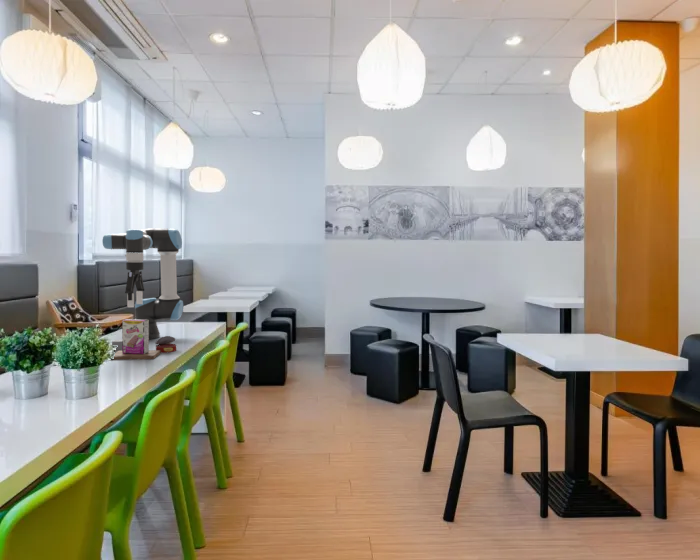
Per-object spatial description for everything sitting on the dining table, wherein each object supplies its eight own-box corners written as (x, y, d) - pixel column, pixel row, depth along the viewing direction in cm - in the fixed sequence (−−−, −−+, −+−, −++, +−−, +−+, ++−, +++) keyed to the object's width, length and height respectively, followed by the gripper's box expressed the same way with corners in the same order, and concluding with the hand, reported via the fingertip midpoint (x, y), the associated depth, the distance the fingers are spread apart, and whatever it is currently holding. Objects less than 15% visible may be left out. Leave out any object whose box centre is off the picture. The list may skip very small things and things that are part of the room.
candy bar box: (121, 353, 227) (121, 320, 226) (127, 351, 232) (127, 318, 231) (144, 354, 226) (144, 320, 225) (149, 352, 231) (149, 319, 230)
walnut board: (119, 353, 234) (119, 350, 234) (160, 353, 237) (160, 350, 237) (108, 359, 221) (108, 356, 220) (153, 359, 223) (153, 356, 223)
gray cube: (115, 349, 245) (115, 339, 245) (125, 349, 246) (125, 339, 245) (112, 351, 240) (112, 341, 240) (122, 351, 241) (122, 341, 240)
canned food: (157, 361, 239) (147, 344, 238) (165, 355, 249) (155, 338, 248) (176, 352, 238) (166, 334, 237) (183, 346, 248) (174, 329, 247)
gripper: (134, 261, 238) (135, 302, 240) (117, 262, 214) (118, 308, 215) (150, 261, 240) (150, 302, 241) (134, 262, 215) (135, 308, 216)
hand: (135, 305), depth 228 cm, fingers open, 13 cm apart
